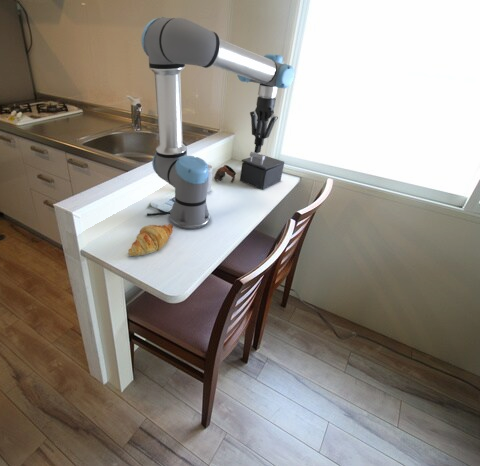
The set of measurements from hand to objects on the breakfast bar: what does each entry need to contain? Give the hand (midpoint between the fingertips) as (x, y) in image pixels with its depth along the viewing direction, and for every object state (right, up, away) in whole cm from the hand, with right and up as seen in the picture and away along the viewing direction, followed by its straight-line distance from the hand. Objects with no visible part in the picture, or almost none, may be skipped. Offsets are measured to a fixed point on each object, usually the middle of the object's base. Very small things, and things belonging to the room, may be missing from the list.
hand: (257, 152), depth 146 cm
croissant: (-44, -41, -37) cm, 70 cm away
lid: (+4, -3, +8) cm, 9 cm away
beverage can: (-24, -18, 0) cm, 30 cm away
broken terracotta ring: (-14, -11, +12) cm, 22 cm away
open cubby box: (+4, -11, +13) cm, 18 cm away
